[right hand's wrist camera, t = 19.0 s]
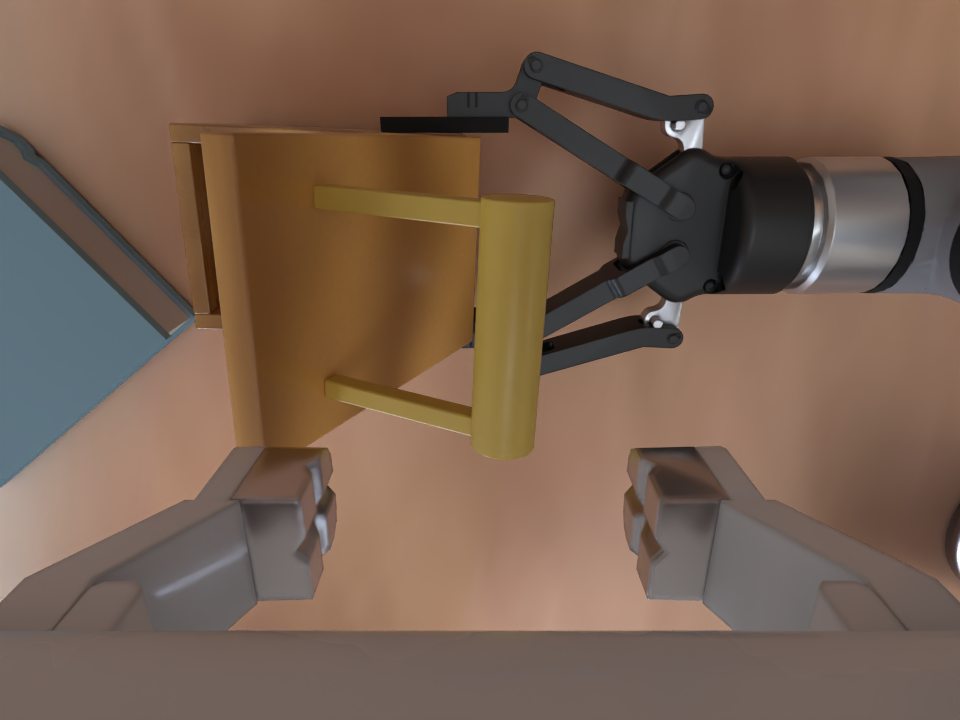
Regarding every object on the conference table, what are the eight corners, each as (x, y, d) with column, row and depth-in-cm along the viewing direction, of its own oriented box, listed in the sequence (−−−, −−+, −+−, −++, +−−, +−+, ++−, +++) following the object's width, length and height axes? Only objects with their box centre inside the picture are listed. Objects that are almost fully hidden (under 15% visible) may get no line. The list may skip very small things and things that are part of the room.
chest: (254, 280, 41) (195, 329, 31) (239, 123, 37) (167, 122, 27) (457, 286, 42) (462, 335, 32) (462, 134, 38) (469, 136, 28)
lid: (237, 464, 19) (483, 549, 16) (197, 130, 16) (506, 149, 12) (453, 337, 32) (615, 369, 28) (458, 136, 28) (646, 146, 25)
